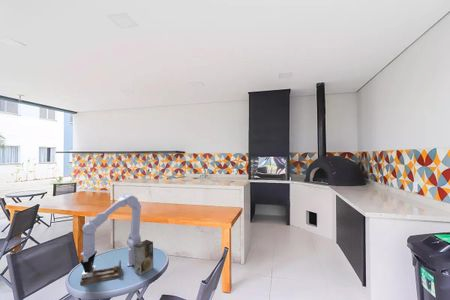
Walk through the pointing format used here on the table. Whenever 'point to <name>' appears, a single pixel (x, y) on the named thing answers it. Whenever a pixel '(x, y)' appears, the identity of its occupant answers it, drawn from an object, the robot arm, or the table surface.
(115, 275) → the nut press
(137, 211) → the robot arm
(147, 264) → the coffee box
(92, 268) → the press carriage
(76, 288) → the table surface
